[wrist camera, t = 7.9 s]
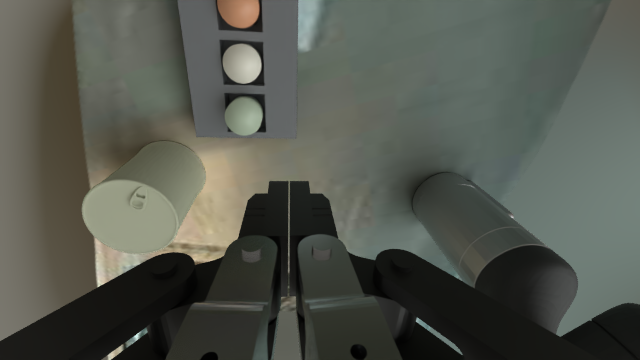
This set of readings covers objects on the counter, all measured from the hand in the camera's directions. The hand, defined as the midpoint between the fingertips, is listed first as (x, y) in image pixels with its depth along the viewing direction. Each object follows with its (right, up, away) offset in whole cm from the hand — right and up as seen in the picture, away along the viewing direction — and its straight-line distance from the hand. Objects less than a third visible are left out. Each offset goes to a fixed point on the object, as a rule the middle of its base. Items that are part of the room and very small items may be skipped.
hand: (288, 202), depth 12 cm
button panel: (-8, +15, +24) cm, 29 cm away
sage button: (-8, +9, +24) cm, 27 cm away
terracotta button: (-7, +20, +20) cm, 29 cm away
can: (-19, +2, +29) cm, 35 cm away
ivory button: (-8, +15, +23) cm, 28 cm away
